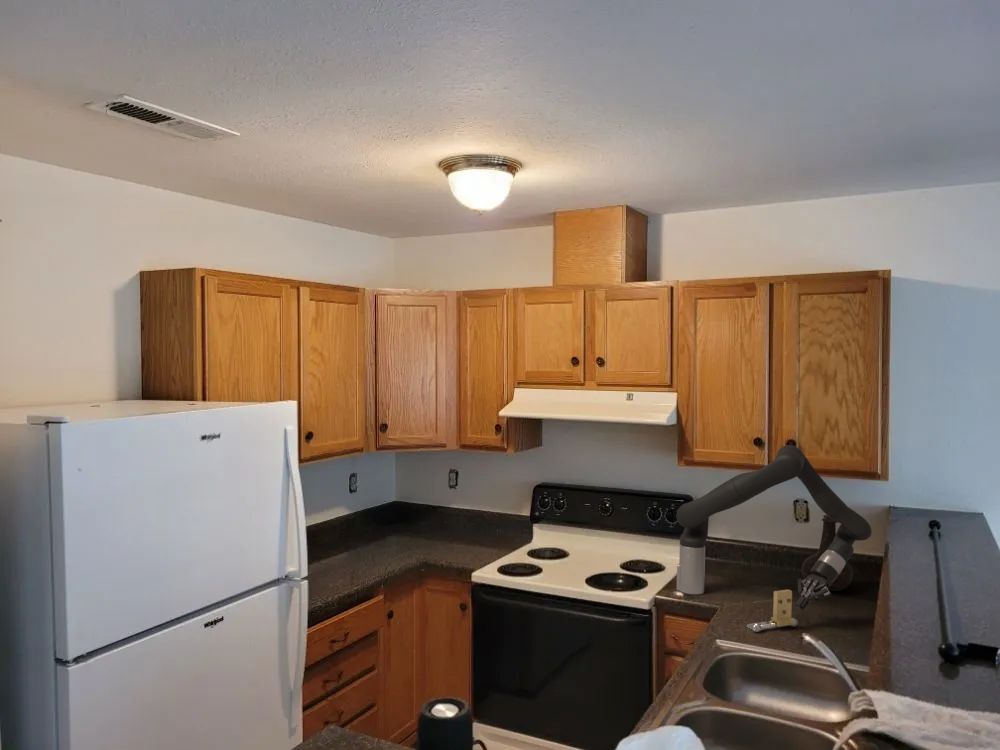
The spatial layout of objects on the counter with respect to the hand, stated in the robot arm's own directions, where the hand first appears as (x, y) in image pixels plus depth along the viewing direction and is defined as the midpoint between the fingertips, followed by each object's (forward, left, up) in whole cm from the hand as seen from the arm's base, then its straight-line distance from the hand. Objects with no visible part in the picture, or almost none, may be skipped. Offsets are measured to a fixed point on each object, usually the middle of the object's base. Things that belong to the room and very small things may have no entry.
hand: (798, 607), depth 243 cm
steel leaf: (-6, -8, -6) cm, 12 cm away
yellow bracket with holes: (-3, -6, -4) cm, 8 cm away
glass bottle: (-4, +50, -6) cm, 50 cm away
